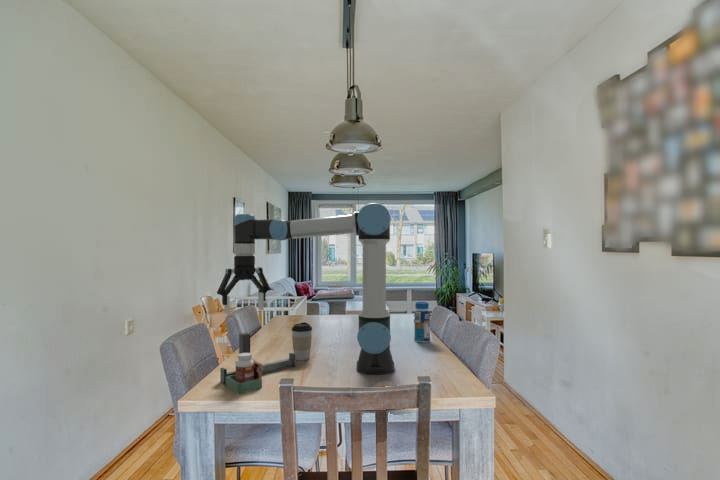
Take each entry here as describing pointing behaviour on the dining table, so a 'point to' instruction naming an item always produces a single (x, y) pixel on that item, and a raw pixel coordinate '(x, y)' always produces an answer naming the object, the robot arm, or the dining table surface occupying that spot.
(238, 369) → the pill bottle
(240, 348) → the kicker
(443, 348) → the dining table surface
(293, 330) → the coffee cup
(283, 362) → the rail
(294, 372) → the dining table surface
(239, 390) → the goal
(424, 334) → the beverage bottle
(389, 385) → the dining table surface
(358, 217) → the robot arm
